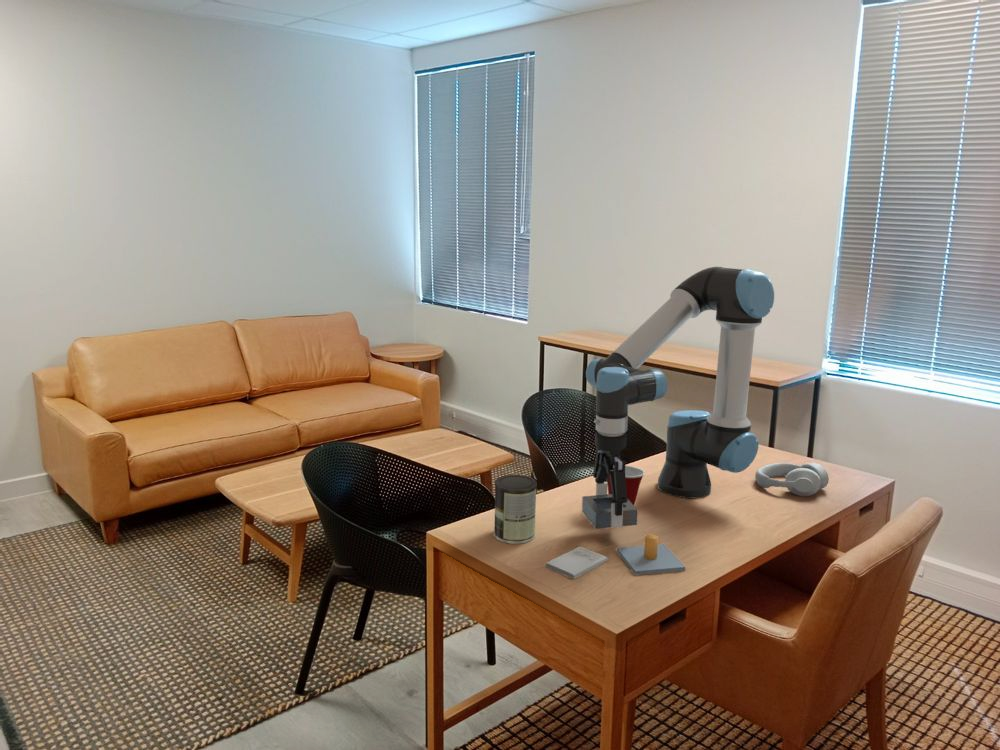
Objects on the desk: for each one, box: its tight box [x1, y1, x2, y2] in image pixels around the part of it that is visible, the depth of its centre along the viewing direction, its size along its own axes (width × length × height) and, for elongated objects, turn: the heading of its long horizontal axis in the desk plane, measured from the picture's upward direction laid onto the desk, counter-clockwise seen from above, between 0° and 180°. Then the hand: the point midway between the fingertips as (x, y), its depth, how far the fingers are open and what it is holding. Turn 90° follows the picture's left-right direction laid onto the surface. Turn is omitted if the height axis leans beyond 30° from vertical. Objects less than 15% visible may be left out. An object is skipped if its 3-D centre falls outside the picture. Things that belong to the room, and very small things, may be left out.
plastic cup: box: [606, 465, 646, 506], centre depth 209 cm, size 11×11×12 cm
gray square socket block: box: [581, 493, 638, 530], centre depth 192 cm, size 10×10×4 cm
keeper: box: [616, 534, 686, 576], centre depth 181 cm, size 12×12×6 cm
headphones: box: [754, 462, 830, 497], centre depth 230 cm, size 18×8×20 cm
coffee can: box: [493, 474, 538, 545], centre depth 192 cm, size 10×10×14 cm
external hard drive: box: [545, 546, 608, 580], centre depth 179 cm, size 2×8×12 cm
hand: (608, 516), depth 193 cm, fingers closed on gray square socket block, 10 cm apart
